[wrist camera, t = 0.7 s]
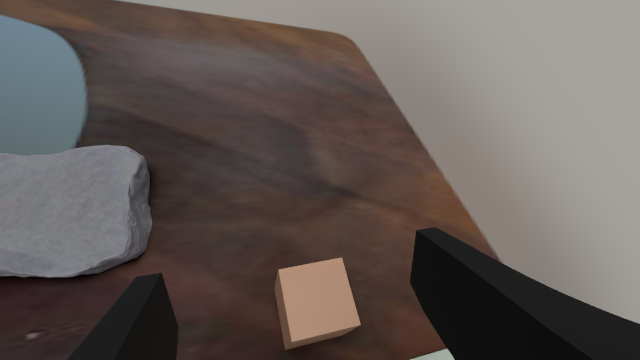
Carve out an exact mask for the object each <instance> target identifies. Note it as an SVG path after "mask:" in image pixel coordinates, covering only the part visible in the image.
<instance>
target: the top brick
mask: <svg viewBox="0 0 640 360" xmlns="http://www.w3.org/2000/svg"><path fill="white" fill-rule="evenodd" d="M274 289H275V294H276V300H277V306H278V312H279V317H280V323H281V329H282V335H283V340H284V346H285V350H288V349H291V348H295V347H299V346H303V345H307V344H311V343H315V342H319V341H323V340H327V339H330V338H334V337H338V336H342V335H344V334H346V333H348V332H349V331H351V330H353V329H355V328H356V327H358V326H360V325H361V324H360V321H359V317H358V314H357V310H356V306H355V303H354V299H353V296H352V292H351V289H350V285H349V281H348V278H347V274H346V271H345V267H344V264H343V260H342V258H337V259H332V260H326V261H321V262H316V263H311V264H305V265H300V266H295V267H290V268H285V269H279V270H278V274H277V279H276V283H275V288H274Z"/></svg>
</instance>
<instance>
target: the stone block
mask: <svg viewBox="0 0 640 360" xmlns="http://www.w3.org/2000/svg"><path fill="white" fill-rule="evenodd" d="M149 186H150V174H149V171H148V168H147V164H146V161H145V158H144V157H143V156H142V155H140V154H138V153H137V152H136V151H134V150H132V149H130V148H128V147H126V146H111V145H100V146H91V147H82V148H76V149H71V150H67V151H64V152H61V153H56V154H50V155H30V156H22V155H14V154H7V153H4V154H3V153H0V276H19V277H30V276H37V277H46V278H52V277H73V276H77V275H81V274H92V273H101V272H103V271H105V270H107V269H109V268H112V267H114V266H117V265H119V264H122V263H124V262H127V261H128V260H131V259H133V258H137V257H138V256H139V255H140V254H142V253H143V252H144V251H145V250H146V247H147V243H148V238H149V235H150V232H151V227H152V220H151V215H150V210H151V209H150V207H149V205H148V196H149V190H150V188H149Z"/></svg>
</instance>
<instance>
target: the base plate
mask: <svg viewBox="0 0 640 360" xmlns="http://www.w3.org/2000/svg"><path fill="white" fill-rule="evenodd" d="M409 360H454V358H453V356H452V355H451V353H450V352H449V350H448V349H443V350H440V351H436V352H433V353H430V354H426V355H423V356H419V357H416V358H412V359H409Z"/></svg>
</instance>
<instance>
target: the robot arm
mask: <svg viewBox="0 0 640 360" xmlns="http://www.w3.org/2000/svg"><path fill="white" fill-rule="evenodd" d="M410 283H411V285H412V288H413V290H414V292H415V294H416V296H417V298H418V300H419V303H420V305H421V307H422V309H423V311H424V313H425V314H426V316H427V317H428V319H429V321H430V322H431V324H432V325H433V327H434V329H435V330H436V332H437V333H438V335H439V336H440V338H441V339H442V341H443V343H444V344H445V346H446V347H447V349H448V350H449V352H450V353H451V355H452V356H453V358H454V360H640V324H638V323H635V322H632V321H630V320H627V319H624V318H621V317H619V316H616V315H614V314H611V313H609V312H606V311H603V310H601V309H598V308H596V307H594V306H591V305H589V304H587V303H584V302H582V301H580V300H577V299H574V298H572V297H570V296H568V295H565V294H563V293H561V292H559V291H557V290H554V289H552V288H550V287H548V286H546V285H544V284H542V283H540V282H538V281H535V280H534V279H531V278H529V277H527V276H525V275H523V274H521V273H520V272H517V271H516V270H514V269H512V268H510V267H508V266H506V265H504V264H502V263H500V262H499V261H497V260H495V259H493V258H491V257H489V256H487V255H486V254H484V253H482V252H480V251H478V250H477V249H475V248H473V247H471V246H469V245H468V244H466V243H464V242H462V241H460V240H459V239H457V238H455V237H453V236H451V235H449V234H447V233H445V232H444V231H442V230H440V229H437V228H435V227H434V228H428V229H422V230H416V238H415V246H414V254H413V262H412V270H411V278H410ZM178 329H179V328H178V324H177V321H176V318H175V315H174V312H173V308H172V305H171V302H170V299H169V295H168V292H167V289H166V286H165V283H164V279H163V276H162V273H158V274H152V275H146V276H140V277H136V278H135V279H134V281H133V282H132V283H131V284H130V285H129V286H128V288H127V289H126V290H125V291H124V292H123V294H122V295H121V296H120V297H119V298H118V300H117V301H116V302H115V303H114V305H113V306H112V307H111V308H110V309H109V311H108V312H107V313H106V314H105V316H104V317H103V318H102V319H101V320H100V322H99V323H98V324H97V325H96V326H95V328H94V329H93V330H92V331H91V332H90V333H89V335H88V336H87V337H86V338H85V339H84V340H83V342H82V343H81V344H80V345H79V346H78V348H77V349H76V350H75V351H74V352H73V353H72V354H71V356H70V357H69V358H68V359H67V360H176V355H177V343H178Z"/></svg>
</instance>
